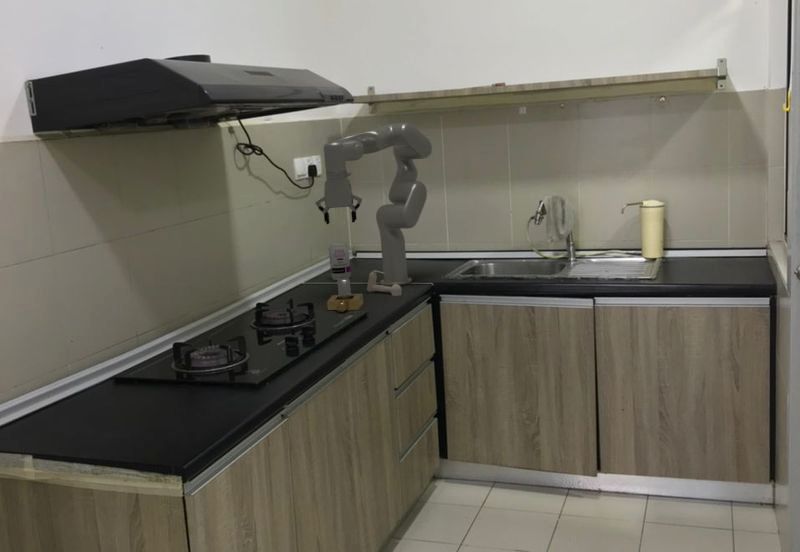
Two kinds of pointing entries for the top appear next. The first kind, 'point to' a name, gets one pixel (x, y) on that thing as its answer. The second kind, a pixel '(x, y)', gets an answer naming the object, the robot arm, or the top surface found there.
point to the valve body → (345, 303)
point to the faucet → (373, 287)
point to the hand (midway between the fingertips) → (340, 222)
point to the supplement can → (339, 261)
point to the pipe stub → (344, 288)
